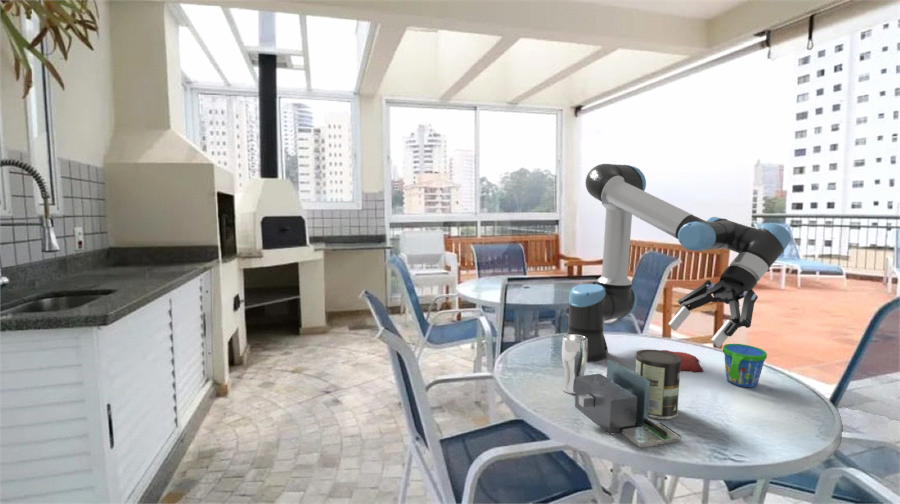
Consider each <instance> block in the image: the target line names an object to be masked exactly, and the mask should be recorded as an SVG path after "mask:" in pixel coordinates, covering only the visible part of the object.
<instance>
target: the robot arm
mask: <svg viewBox="0 0 900 504" xmlns="http://www.w3.org/2000/svg"><path fill="white" fill-rule="evenodd" d="M646 181H647V179H646V177H645V174H644V173H643V172H642V171H641V170H640V169H639V168H638V167H636V166H635V165H629V164H612V163H601V164H598V165H596V166H594V167H593V168H591V169H590V170H589V172H588V173H587V175H586V178H585V187H586V190H587V193H589V195H590V196H591V197H593V198H594V199H596V200H598V201H600V202H601V205H602V206H603V207H604V208H605V221H604V237H603V253H602V269H601V275H600V277H599V278H597V280H596V284H595V283H587V284H584V283H583V284H578V285H576V286H573V287H572V288H571V289H570V290H569V297H568V320H567V321H568V322H567V324H568V325H567V332H566V334H565V335H567V334H577V335H582V336H585V337H587V339H588V340H587V341H588V357H587V362H589V361H592V362H593V361H595V362H596V361H602V360H604V359H606V358H608V355H609V348H608V345H607V341H606V338H605V335H604V324H605V322H606V321H612V320H616V319H622V318H623V319H624V318H625V317H628V316H629V315H631V314H632V313H633V312H634V311H635V310H636V307H637V305H638V304H637V303H638V295H637V293H636V292H635V289H634V288H633V287H632V285H633V283H632V281H631V280H630V279H629V277H628V274H629V263H630V262H629V261H630V246H631V233H632V221H633V220H632V219H633V216H634V217H636V218H638V219H640V220H642V221H643V222H646V223H647V224H649V225H651V226H653V227H654V228H657V229H658V230H660V231H661V232H664V233H665V234H668V235H670V236H671V237H673V238H675V239H677V240H678V243H679V244H680V245H681V246H682V247H683V248H684V249H686V250H688V251H690V252H703V251H710V250H719V249H726V250H729V251H732V252H735V253H737V256H735V257H734V259H733V260H732V261H731V262H730V263H729V266H727V267H726V268H725V270H723V272H722V273H721V274H720V278H719V281H718V282H717V283H714V282H712V281H711V280H709V279H707V280H705V282H704V283H703V284H701V285H700V286H698V287H697V288H695V289H694V290H692V291H690V292H689V293H686V294H685V295H684V296H683V297H681V298H679V299H678V300H677V303H678V304H679V306H680V307H679V309H678V310H677V311H676V312H675V313H674V316H673V318H671V320H670V321H669V322H668V326H669V327H670V328H671V329H672V330H673V331H675V332H676V331H677V330H678V329H679V327H680V326H682V324H683V323H684V322H685V321H686V319H688V317H689V316H690V314H691V312H690V311H693V310H695V309H697V308H700V307H702V306H704V305H708V304H709V303H715V302H718V303H724V304H725V305H729V311H730V319H726V321H725V322H724V323H723V324H722V325H721V327H720V328H719V329H718V330H717V332H715V334H714V336H713V335H712V338H711V339H710V341H711V342H712V343H713V344H714V345H715V347H717V348H721V346H722V345H723V344H724V343H725V342H726V340H727V339H728V337H732V336H733V335H734V333H736V332H737V330H738V329H739V328H741V327H745V328H747V329H748V328H750V327H751V325H752V319H753V315H754V314H753V313H754V308H755V303H756V301H757V300H758V298H759V296H758V295H757V294H756V292H755V291H754V288H755V286H756V285H757V284H758V282H759V281H760V280H761V279H762V278H763V276H765V274H766V273H767V272H768V271H769V269H770V268H771V267H772V265H773V264H774V263H775V262H777V260H778V258H780V256H781V255H782V254H783V253H784V252H785V250H786V249H787V247H788V246H789V244H790V243H791V242H792V234H791V233H790V231H789V230H787V228H786V227H784V226H782V225H780V224H777V223H773V222H772V223H764V224H763V225H761V226H759V228H756V227H752V226H748V225H744V224H741V223H738V222H736V221H731V220H728V219H727V218H722V217H717V216H712V217H709V219H707V220H705V219H702V218H700V217H698V216H696V215H694V214H692V213H690V212H688V211H686V210H684V209H682V208H679V207H677V206H675V205H673V204H672V203H669V202H667V201H665V200H663V199H661V198H659V197H657V196H655V195H653V194H651V193H649V192H647V191H645V190H646V187H647V182H646ZM742 299H743V302H742V305H741V304H740V300H742ZM740 305H741V306H742V307H741V310H740Z"/></svg>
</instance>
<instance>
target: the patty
mask: <svg viewBox="0 0 900 504" xmlns="http://www.w3.org/2000/svg"><path fill="white" fill-rule="evenodd" d="M660 351H666V352H670V353H672V354H675V355H677V356H679V357H680V358H681V365H680V372H683V371H692V372H691V373H696V372H701V373H703V372H704V369H703V367H702V366H700V363H699V362H698V361H699V359H698V357H696V356H695V355H693V354H690V353H687V352H682V351H671V350H667V349H662V350H660ZM697 362H698V363H697ZM702 371H703V372H702Z"/></svg>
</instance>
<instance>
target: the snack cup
mask: <svg viewBox="0 0 900 504" xmlns="http://www.w3.org/2000/svg"><path fill="white" fill-rule="evenodd" d="M722 353H723V354H724V368H725V377H726V381H727V382H729V383H731V384H732V385H735V386H738V387H743V388H755V387H757V385H758V384H759V381H760V377H761V373H762V370H763V367H764V363H765V360H767V357H768V353H767V352H766V351H765V350H764V349H762V348H759V347H756V346H752V345H750V344H749V345H748V344H742V343H726V344H724V345H723V346H722Z"/></svg>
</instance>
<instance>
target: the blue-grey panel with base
mask: <svg viewBox="0 0 900 504" xmlns="http://www.w3.org/2000/svg"><path fill="white" fill-rule="evenodd" d="M606 364H607V365H606V366H607V367H606V378H608V379H609V380H611V381H613V382H614V383H616V384H617V385H619V386H621V387H622V388H624V389H625V390H627V391H629V392H630V393H632V394H633V395H635V396H637V411H636V423H637V424H638V425H640V427H641V426H644V425H648V426H650V427H651V428H652V429H654V430H655V431H657V432H658V433H660V434H661V435H663V436H667V432H666V431H664V430H663V429H661V428H660V427H658V426H657V425H655V424H656V423H654V422H653V421H651V420H649V417H648V407H649V391H650V380H648V379H646V378H644V377H643V376H641V375H639V374H637V373H635V372H636V371H633V370H631V369H629V368H628V367H626V366H625V365H622V364H621V363H619V362H617V361H615V360H613V359H607V363H606ZM579 404H580V405H581V406H582V407H588V406H595V396H593V395H592V394H586V395H579Z"/></svg>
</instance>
